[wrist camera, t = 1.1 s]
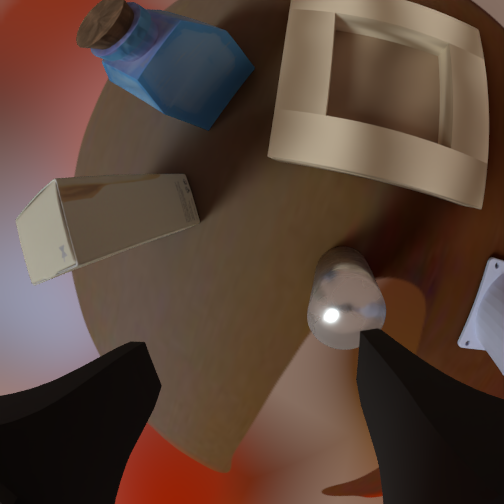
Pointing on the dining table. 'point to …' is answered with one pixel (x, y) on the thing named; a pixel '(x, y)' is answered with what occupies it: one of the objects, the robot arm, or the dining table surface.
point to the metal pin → (344, 299)
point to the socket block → (384, 96)
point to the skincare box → (100, 219)
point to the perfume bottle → (166, 59)
